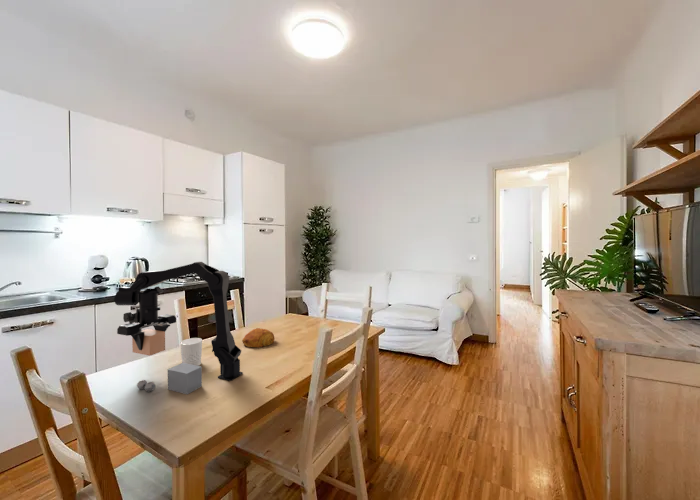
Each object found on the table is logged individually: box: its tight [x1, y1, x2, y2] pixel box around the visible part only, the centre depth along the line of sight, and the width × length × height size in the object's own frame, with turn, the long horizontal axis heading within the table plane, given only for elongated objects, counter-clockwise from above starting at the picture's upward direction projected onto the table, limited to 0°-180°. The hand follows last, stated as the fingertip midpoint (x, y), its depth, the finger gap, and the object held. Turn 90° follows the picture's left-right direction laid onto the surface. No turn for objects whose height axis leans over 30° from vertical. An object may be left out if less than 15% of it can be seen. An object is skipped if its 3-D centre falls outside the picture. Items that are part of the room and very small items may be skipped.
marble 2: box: [144, 381, 156, 392], centre depth 103 cm, size 3×3×3 cm
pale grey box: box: [167, 362, 203, 395], centre depth 105 cm, size 9×6×7 cm, turn 69°
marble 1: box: [136, 379, 148, 390], centre depth 104 cm, size 3×3×3 cm
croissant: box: [241, 327, 275, 349], centre depth 151 cm, size 14×16×8 cm
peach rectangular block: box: [131, 328, 166, 357], centre depth 112 cm, size 9×6×7 cm, turn 69°
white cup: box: [180, 337, 203, 366], centre depth 124 cm, size 8×8×10 cm
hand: (149, 347), depth 112 cm, fingers closed on peach rectangular block, 6 cm apart
